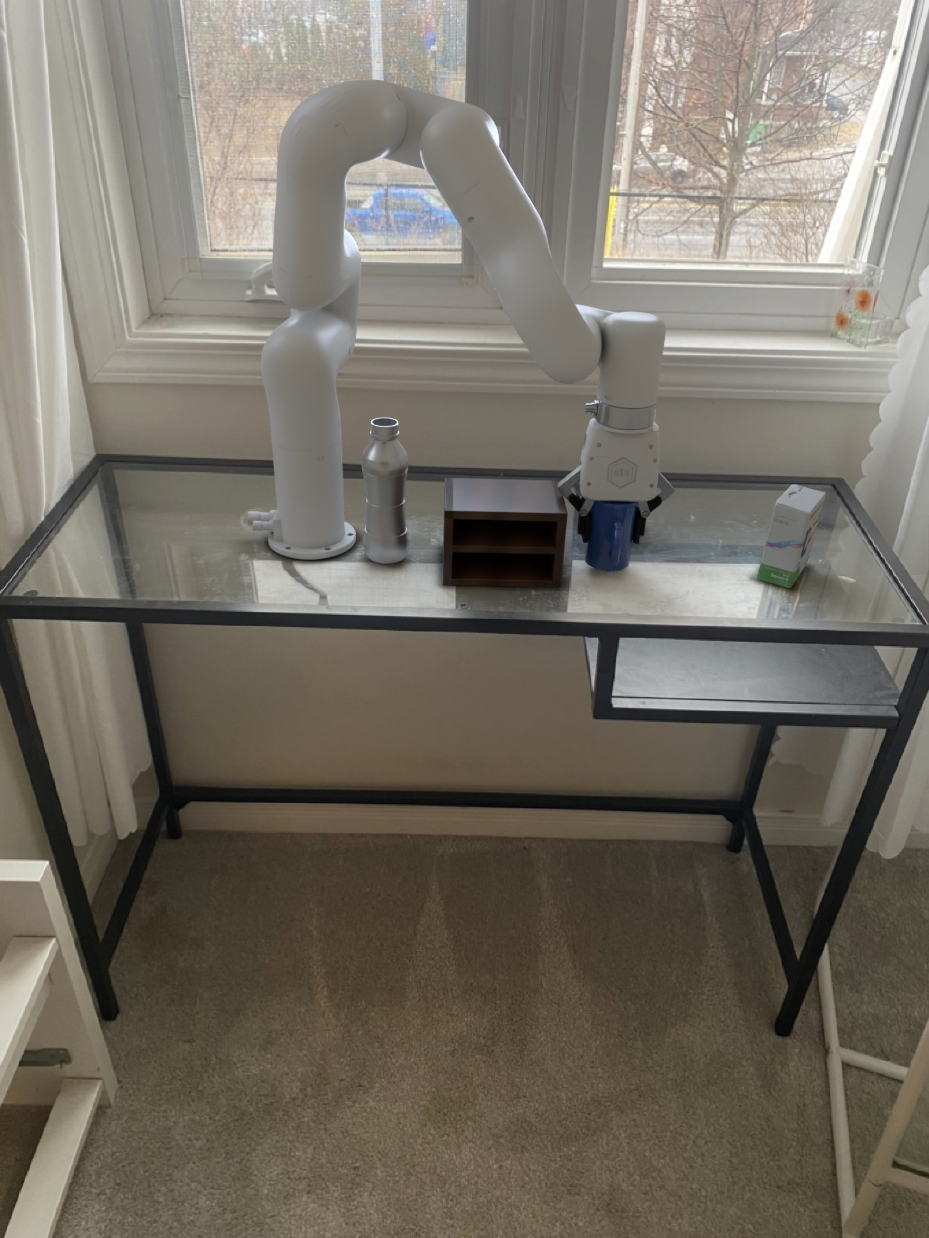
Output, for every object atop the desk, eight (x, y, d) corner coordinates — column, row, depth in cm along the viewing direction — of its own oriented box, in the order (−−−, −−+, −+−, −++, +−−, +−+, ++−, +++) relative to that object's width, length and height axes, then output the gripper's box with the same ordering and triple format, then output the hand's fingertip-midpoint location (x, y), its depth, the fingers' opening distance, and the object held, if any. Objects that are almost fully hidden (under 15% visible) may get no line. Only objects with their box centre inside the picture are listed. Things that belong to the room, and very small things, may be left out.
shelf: (442, 585, 130) (444, 510, 124) (443, 548, 139) (444, 477, 134) (560, 587, 130) (567, 513, 125) (553, 551, 140) (559, 480, 134)
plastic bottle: (374, 573, 132) (371, 433, 122) (356, 552, 137) (351, 417, 127) (417, 564, 135) (417, 427, 125) (397, 544, 140) (396, 411, 130)
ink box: (773, 557, 140) (789, 481, 134) (808, 566, 138) (827, 490, 132) (755, 580, 134) (771, 501, 128) (792, 590, 132) (810, 511, 126)
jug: (588, 580, 129) (596, 512, 124) (579, 546, 138) (586, 482, 133) (637, 581, 130) (647, 514, 124) (625, 547, 138) (633, 483, 133)
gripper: (560, 421, 120) (549, 550, 129) (698, 425, 121) (677, 553, 130) (555, 402, 127) (544, 526, 136) (685, 405, 127) (666, 529, 136)
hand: (609, 538), depth 133 cm, fingers closed on jug, 6 cm apart
